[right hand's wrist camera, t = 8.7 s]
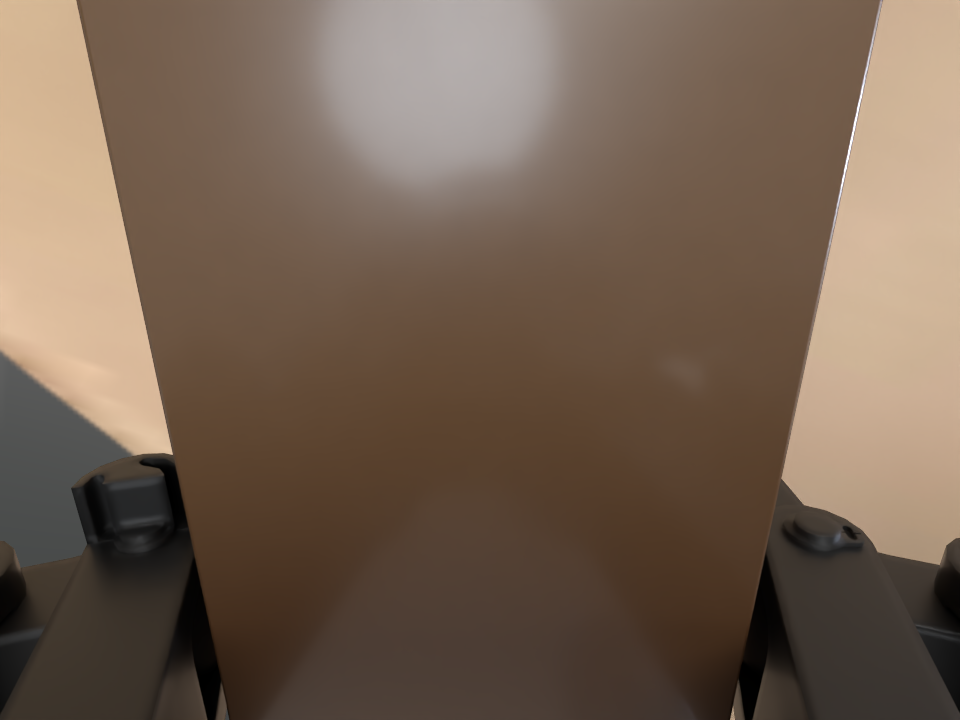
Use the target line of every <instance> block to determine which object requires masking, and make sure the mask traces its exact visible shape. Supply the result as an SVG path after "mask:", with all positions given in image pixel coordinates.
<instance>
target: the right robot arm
mask: <svg viewBox="0 0 960 720" xmlns="http://www.w3.org/2000/svg"><path fill="white" fill-rule="evenodd" d="M71 489H72V493H73V496H74V500H75V503H76V507H77V510H78V513H79V517H80V520H81V524H82V527H83V531H84V534H85V538H86V541H87V546H86V548H85V550H84V552H83V554H82V555H81V556H77V557H73V558H68V559H64V560H59V561H53V562H49V563H43V564H39V565H33V566H29V567H23V568H20V565H19V562H18V559H17V556H16V553H15V550H14V548H12V547H11V546H10V545H8V544H7V543H6V542H4V541H0V720H225V716H226V708H227V706H226V701H225V696H224V691H223V687H222V682H221V677H220V673H219V668H218V663H217V659H216V654H215V649H214V644H213V640H212V635H211V630H210V626H209V621H208V616H207V612H206V607H205V602H204V597H203V593H202V588H201V583H200V579H199V574H198V569H197V565H196V560H195V555H194V550H193V546H192V541H191V536H190V532H189V527H188V522H187V518H186V513H185V508H184V503H183V499H182V494H181V489H180V485H179V480H178V475H177V471H176V466H175V461H174V456H173V455H170V454H165V453H158V454H142V455H137V456H132V457H127V458H122V459H119V460H116V461H114V462H111V463H108V464H105V465H103V466H100V467H98V468H97V469H95V470H93V471H92V472H90V473H88V474H86V475H85V476H83V477H82V478H81V479H80V480H79V481H78V482H77V483H76V484H75V485H74V486H73V487H72V488H71ZM733 707H734V715H735V720H960V538H956V539H955V540H953V541H952V542H951V543H949V544H948V545H947V546H946V549H945V552H944V555H943V557H942V560H941V563H940V565H936V564H931V563H926V562H921V561H916V560H910V559H905V558H900V557H895V556H890V555H886V554H882V553H878V552H877V551H876V549H875V547H874V545H873V543H872V542H871V541H870V539H869V538H868V537H867V536H866V534H865V533H864V532H863V531H862V530H861V529H859V528H858V527H856V526H855V525H853V524H852V523H850V522H849V521H848V520H846V519H844V518H842V517H839V516H837V515H835V514H832V513H830V512H828V511H825V510H821V509H817V508H813V507H809V506H804V505H803V504H802V503H801V501H800V500H799V499H798V498H797V497H796V495H795V494H794V493H793V492H792V491H791V490H790V488H789V487H788V486H787V485H786V484H785V482H784V481H783V480H782V479H781V482H780V486H779V491H778V496H777V501H776V505H775V510H774V515H773V519H772V524H771V529H770V533H769V538H768V543H767V548H766V552H765V557H764V562H763V566H762V571H761V576H760V581H759V585H758V590H757V595H756V599H755V604H754V609H753V614H752V618H751V623H750V628H749V632H748V637H747V642H746V646H745V651H744V656H743V661H742V665H741V670H740V675H739V679H738V684H737V689H736V694H735V698H734V703H733Z"/></svg>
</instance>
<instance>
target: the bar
mask: <svg viewBox="0 0 960 720" xmlns="http://www.w3.org/2000/svg"><path fill="white" fill-rule="evenodd" d="M882 1H883V0H77V5H78V10H79V14H80V19H81V24H82V29H83V33H84V38H85V43H86V47H87V52H88V57H89V61H90V66H91V71H92V76H93V80H94V85H95V90H96V94H97V99H98V104H99V108H100V113H101V118H102V123H103V127H104V132H105V137H106V141H107V146H108V151H109V156H110V160H111V165H112V170H113V174H114V179H115V184H116V188H117V193H118V198H119V203H120V207H121V212H122V217H123V221H124V226H125V231H126V235H127V240H128V245H129V250H130V254H131V259H132V264H133V268H134V273H135V278H136V282H137V287H138V292H139V297H140V301H141V306H142V311H143V315H144V320H145V325H146V329H147V334H148V339H149V344H150V348H151V353H152V358H153V362H154V367H155V372H156V376H157V381H158V386H159V391H160V395H161V400H162V405H163V409H164V414H165V419H166V423H167V428H168V433H169V438H170V442H171V447H172V452H173V456H174V461H175V466H176V471H177V475H178V480H179V485H180V489H181V494H182V499H183V503H184V508H185V513H186V518H187V522H188V527H189V532H190V536H191V541H192V546H193V550H194V555H195V560H196V565H197V569H198V574H199V579H200V583H201V588H202V593H203V597H204V602H205V607H206V612H207V616H208V621H209V626H210V630H211V635H212V640H213V644H214V649H215V654H216V659H217V663H218V668H219V673H220V677H221V682H222V687H223V691H224V696H225V701H226V706H227V710H228V715H229V720H730V717H731V712H732V708H733V703H734V698H735V694H736V689H737V684H738V679H739V675H740V670H741V665H742V661H743V656H744V651H745V646H746V642H747V637H748V632H749V628H750V623H751V618H752V614H753V609H754V604H755V599H756V595H757V590H758V585H759V581H760V576H761V571H762V566H763V562H764V557H765V552H766V548H767V543H768V538H769V533H770V529H771V524H772V519H773V515H774V510H775V505H776V501H777V496H778V491H779V486H780V482H781V477H782V472H783V468H784V463H785V458H786V453H787V449H788V444H789V439H790V435H791V430H792V425H793V420H794V416H795V411H796V406H797V402H798V397H799V392H800V388H801V383H802V378H803V373H804V369H805V364H806V359H807V355H808V350H809V345H810V340H811V336H812V331H813V326H814V322H815V317H816V312H817V307H818V303H819V298H820V293H821V289H822V284H823V279H824V275H825V270H826V265H827V260H828V256H829V251H830V246H831V242H832V237H833V232H834V227H835V223H836V218H837V213H838V209H839V204H840V199H841V194H842V190H843V185H844V180H845V176H846V171H847V166H848V162H849V157H850V152H851V147H852V143H853V138H854V133H855V129H856V124H857V119H858V114H859V110H860V105H861V100H862V96H863V91H864V86H865V81H866V77H867V72H868V67H869V63H870V58H871V53H872V49H873V44H874V39H875V34H876V30H877V25H878V20H879V16H880V11H881V6H882Z"/></svg>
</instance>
